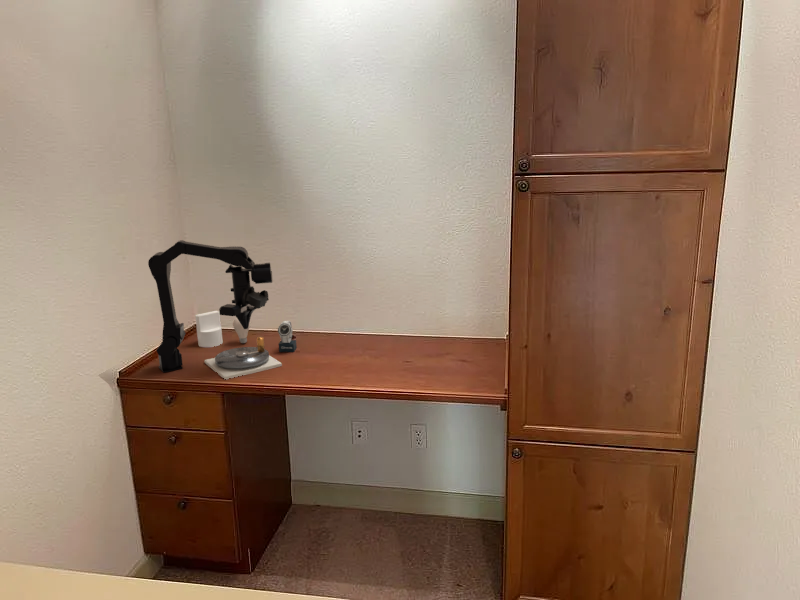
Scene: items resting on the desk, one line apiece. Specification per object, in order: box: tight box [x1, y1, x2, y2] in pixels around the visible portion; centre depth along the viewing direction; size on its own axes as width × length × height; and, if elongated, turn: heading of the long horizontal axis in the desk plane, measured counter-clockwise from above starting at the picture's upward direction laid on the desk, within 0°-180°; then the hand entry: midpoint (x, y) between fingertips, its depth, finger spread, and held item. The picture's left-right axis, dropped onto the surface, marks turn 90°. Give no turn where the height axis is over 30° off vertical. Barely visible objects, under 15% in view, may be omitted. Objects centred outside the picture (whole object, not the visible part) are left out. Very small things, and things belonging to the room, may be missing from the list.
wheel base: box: [204, 354, 283, 380], centre depth 209 cm, size 20×20×2 cm
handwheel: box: [214, 336, 270, 369], centre depth 208 cm, size 18×18×6 cm
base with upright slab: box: [194, 310, 224, 348], centre depth 230 cm, size 9×9×12 cm
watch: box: [277, 320, 298, 353], centre depth 221 cm, size 6×8×11 cm
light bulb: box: [232, 316, 252, 344], centre depth 230 cm, size 7×7×11 cm
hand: (246, 328), depth 207 cm, fingers closed
